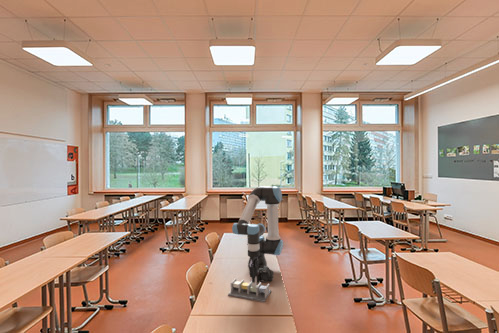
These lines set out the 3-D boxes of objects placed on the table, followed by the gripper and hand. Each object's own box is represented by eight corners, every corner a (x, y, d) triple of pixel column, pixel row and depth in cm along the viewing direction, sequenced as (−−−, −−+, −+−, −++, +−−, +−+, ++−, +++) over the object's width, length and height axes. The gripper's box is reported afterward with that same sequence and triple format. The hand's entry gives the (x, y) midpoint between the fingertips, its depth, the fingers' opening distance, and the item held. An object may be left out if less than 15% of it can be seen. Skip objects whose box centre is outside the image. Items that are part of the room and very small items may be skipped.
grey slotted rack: (237, 285, 175) (237, 276, 175) (271, 291, 166) (271, 281, 166) (228, 295, 162) (228, 285, 162) (264, 302, 153) (264, 291, 153)
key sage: (252, 288, 165) (252, 284, 165) (258, 289, 164) (258, 285, 164) (250, 291, 162) (250, 287, 162) (256, 292, 160) (256, 288, 160)
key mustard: (243, 285, 168) (243, 282, 168) (249, 286, 166) (249, 283, 166) (241, 288, 164) (241, 285, 164) (247, 289, 163) (247, 286, 162)
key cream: (235, 284, 170) (235, 280, 170) (241, 285, 168) (241, 281, 168) (233, 286, 166) (233, 283, 166) (238, 287, 165) (238, 284, 165)
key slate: (261, 288, 163) (261, 285, 163) (267, 289, 162) (267, 286, 162) (259, 291, 160) (259, 288, 160) (265, 292, 158) (265, 289, 158)
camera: (256, 284, 176) (256, 270, 175) (254, 278, 185) (253, 264, 185) (275, 282, 178) (275, 268, 178) (271, 276, 188) (271, 263, 188)
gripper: (251, 245, 170) (252, 281, 170) (244, 252, 158) (244, 290, 158) (262, 247, 167) (263, 283, 167) (255, 253, 155) (256, 292, 155)
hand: (254, 286), depth 163 cm, fingers closed
